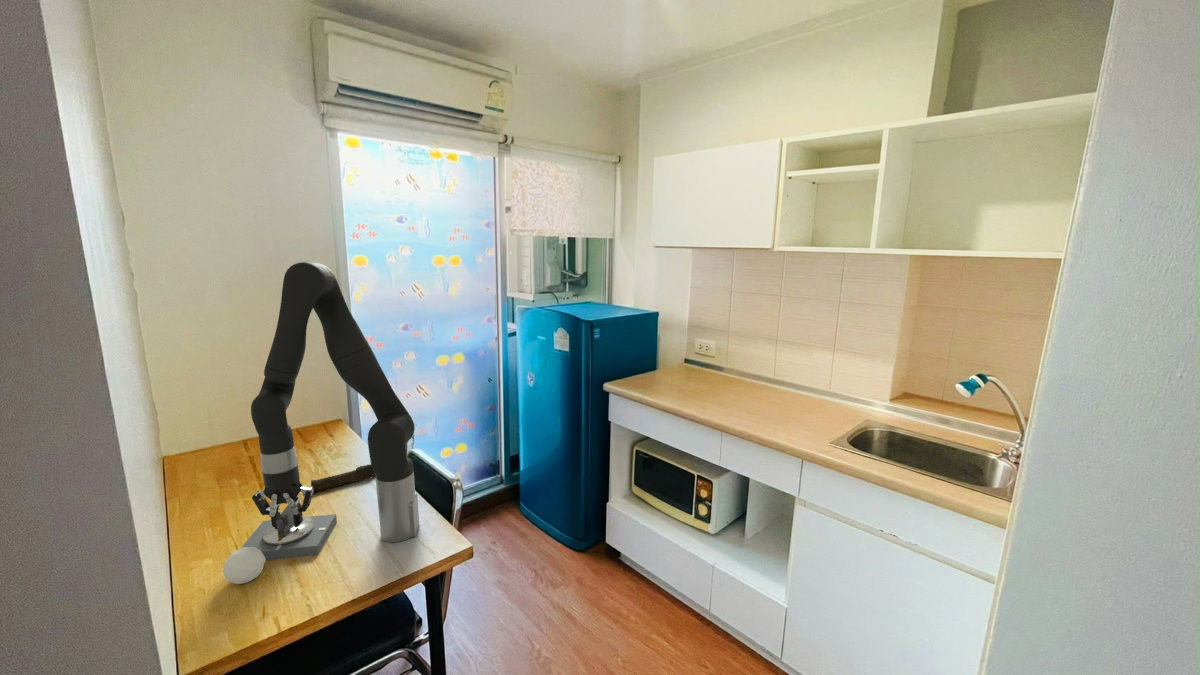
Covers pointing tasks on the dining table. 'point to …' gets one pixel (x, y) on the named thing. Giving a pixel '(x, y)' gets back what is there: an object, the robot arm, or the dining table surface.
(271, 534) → the dial knob
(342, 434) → the dining table surface
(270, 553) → the dial panel
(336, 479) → the hand tool
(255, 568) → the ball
